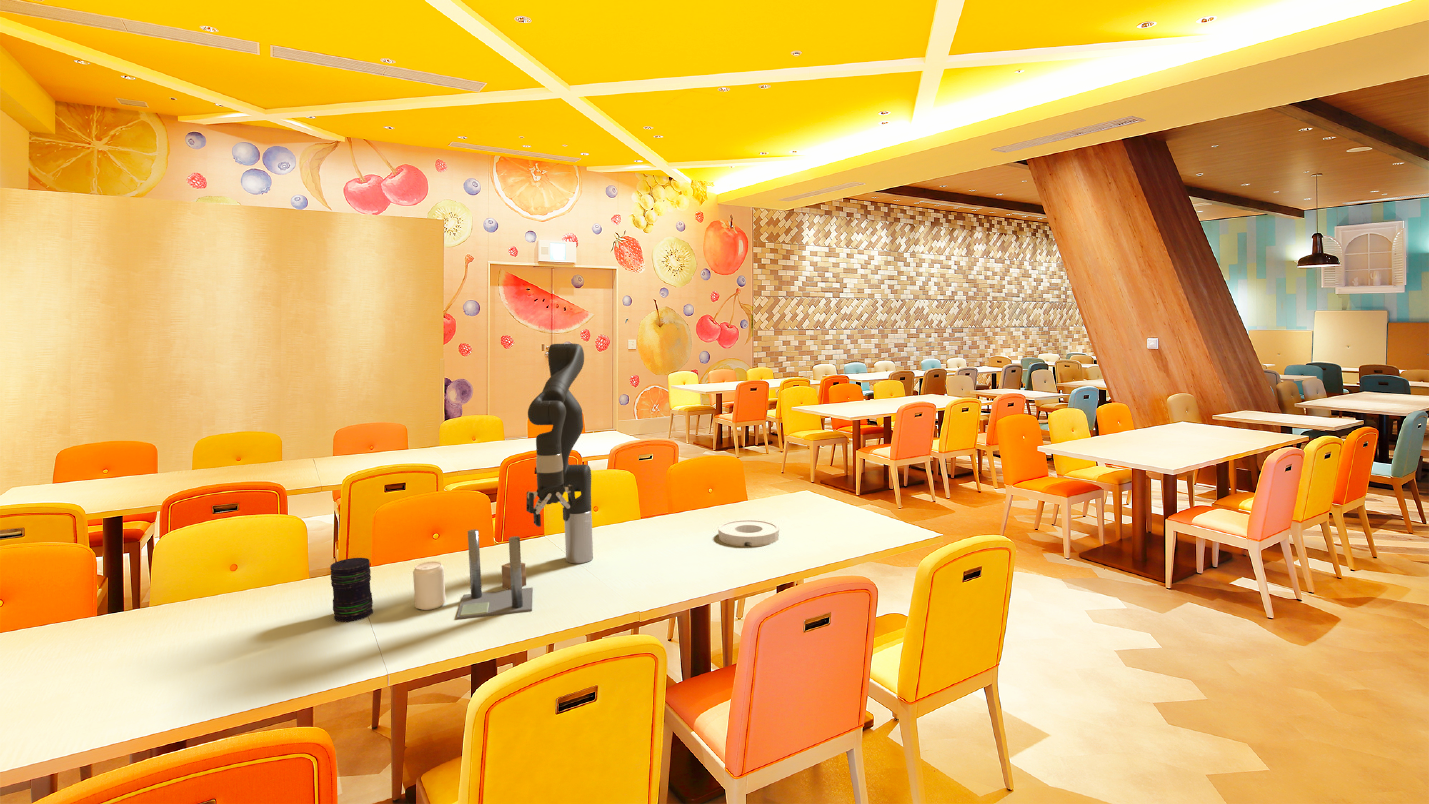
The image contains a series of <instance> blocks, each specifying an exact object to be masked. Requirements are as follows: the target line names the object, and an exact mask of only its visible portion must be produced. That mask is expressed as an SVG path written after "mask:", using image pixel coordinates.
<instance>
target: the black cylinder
mask: <svg viewBox="0 0 1429 804" xmlns="http://www.w3.org/2000/svg"><path fill="white" fill-rule="evenodd" d="M329 569H330V580H331V581H330V583H331V588H332V593H333V595H332V596H333V599H332V610H333V615H334V616H333V619H334V621H335V622H337V623H349V622H350V623H351V622H357V621H360V620H364V619H366V618H368V617H371V616H372V614H373V610H374V609H373V603H374V602H373V601H374V600H373V595H372V590H371V580H372V579H371V578H372V576H371V573H372V572H371V565H370V559H369V558H366V557H353V558H346V559H340V560H338V561H335V562H333V563H332V564H330V568H329Z"/></svg>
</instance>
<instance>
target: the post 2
mask: <svg viewBox="0 0 1429 804" xmlns="http://www.w3.org/2000/svg"><path fill="white" fill-rule="evenodd" d="M508 551H509V553H508V554H509V555H508V556H509V563H510V576H511V598H512V608H515V609H516V608H521V607H523V597H522V589H523V587H522V575H521V563H522V557H521V538H520V536H519V535H517V536H515V535H514V536H510V537H508Z"/></svg>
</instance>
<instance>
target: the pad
mask: <svg viewBox="0 0 1429 804" xmlns="http://www.w3.org/2000/svg"><path fill="white" fill-rule="evenodd" d="M482 604H484V605H486V604H487V605H488V603H486V604H485V603H481V605H479V606H478V604H477V605H476V604H473V605H476V606H475V608H477V609H476V610H477V611H476V610H475V609H474V610H475V612H474V610H473V609H472V608H474V607H473V605H472V604H470V605H469V607H467V606H463V607H465V610H466V608H469V609H470V608H471V610H473V611H471V610H469V611H470V613H471V612H472V613H473V612H474V613H479V611H481V610H482V609H481V608H483V610H482V611H483V612H485V610H486V612H487V608H488V607H487V605H486V606H484V605H482ZM471 605H472V606H471ZM470 606H471V607H470ZM482 606H483V607H482ZM480 607H481V608H480ZM484 607H485V608H486V609H485V608H484ZM479 608H480V610H479ZM466 611H468V610H466ZM466 611H465V613H467V614H468V612H466ZM482 611H481V612H482ZM462 612H464V608H463V610H462ZM462 612H461V613H462ZM463 614H464V613H463Z"/></svg>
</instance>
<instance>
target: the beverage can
mask: <svg viewBox="0 0 1429 804" xmlns="http://www.w3.org/2000/svg"><path fill="white" fill-rule="evenodd" d="M442 564H443V563H442V562H440V561H436V560H434V561H431V560H430V561H426V562H425V561H424V562H421V563H418V564H416V565H415V566H414V570H413V571H412V574H413V576H412V577H413V590H414V591H413V592H414V606H415V608H416V609H418V610H419V609H420V610H421V611H423V610H424V611H431V610H435V609H438V608H440V607H442V606H443V605H444V604H445V603H446V588H445V587H446V586H445V571H444V570H445V568H444V566H443V565H442Z"/></svg>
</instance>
